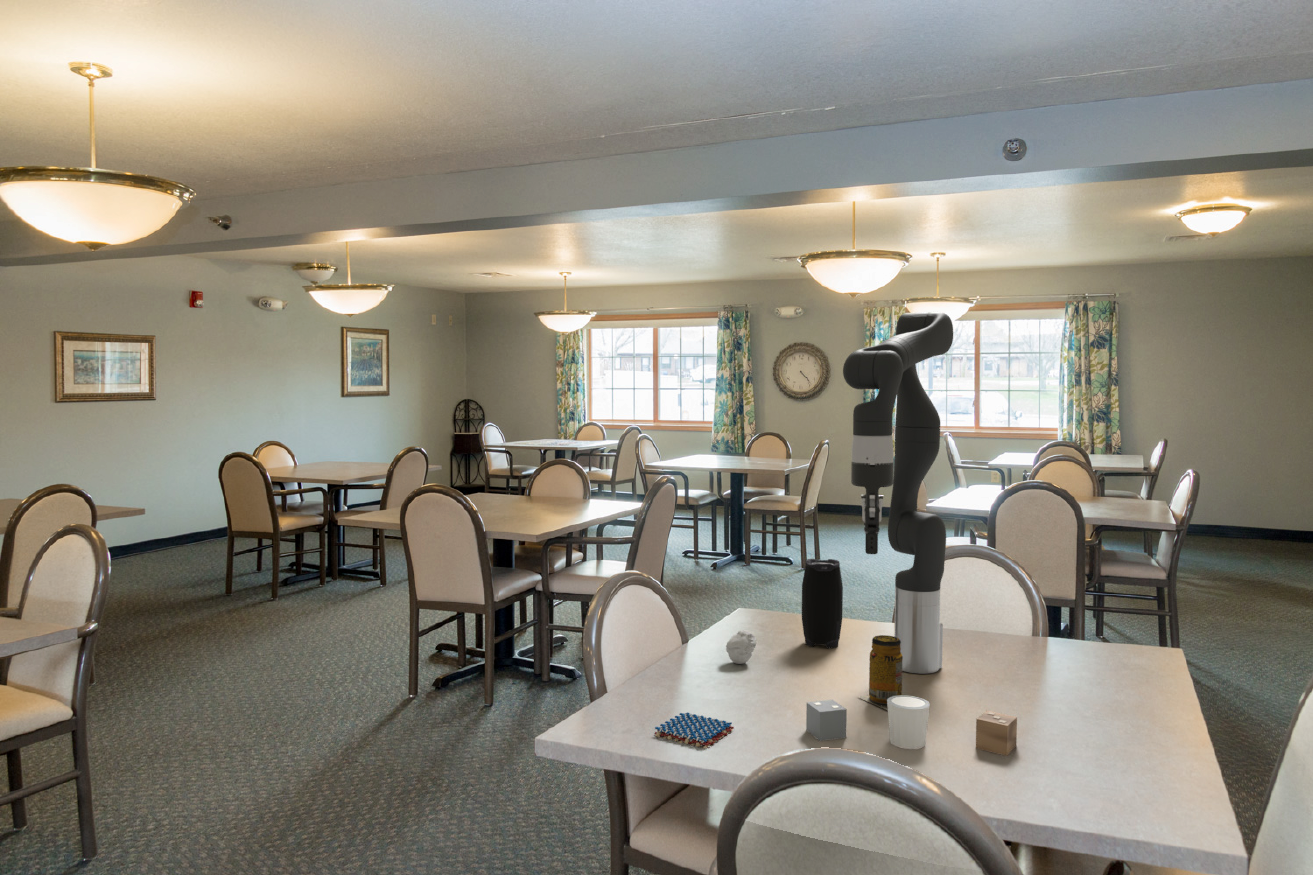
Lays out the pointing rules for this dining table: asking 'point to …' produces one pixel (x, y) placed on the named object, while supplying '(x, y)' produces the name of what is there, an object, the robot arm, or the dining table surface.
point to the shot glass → (908, 721)
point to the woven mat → (694, 729)
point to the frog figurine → (741, 647)
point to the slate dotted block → (826, 720)
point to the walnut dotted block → (996, 732)
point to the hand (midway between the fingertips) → (871, 553)
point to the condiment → (884, 670)
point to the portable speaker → (822, 602)
